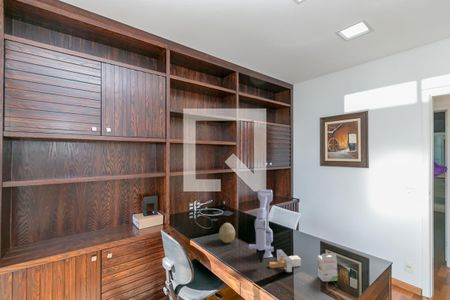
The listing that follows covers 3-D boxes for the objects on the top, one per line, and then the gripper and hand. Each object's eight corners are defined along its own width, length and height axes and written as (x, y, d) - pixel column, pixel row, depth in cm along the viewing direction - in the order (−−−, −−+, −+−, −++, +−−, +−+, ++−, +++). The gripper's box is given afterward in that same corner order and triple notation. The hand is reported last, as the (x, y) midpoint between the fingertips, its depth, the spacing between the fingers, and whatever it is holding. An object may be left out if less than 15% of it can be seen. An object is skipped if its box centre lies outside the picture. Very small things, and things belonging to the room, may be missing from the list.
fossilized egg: (225, 247, 156) (224, 226, 156) (216, 241, 167) (216, 222, 167) (238, 242, 163) (238, 223, 163) (229, 237, 174) (229, 219, 174)
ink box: (332, 275, 117) (332, 249, 118) (337, 281, 112) (337, 253, 113) (317, 276, 117) (317, 249, 117) (322, 281, 112) (321, 253, 112)
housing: (277, 260, 136) (276, 249, 136) (281, 259, 136) (281, 249, 136) (286, 272, 121) (286, 260, 122) (291, 271, 122) (291, 260, 122)
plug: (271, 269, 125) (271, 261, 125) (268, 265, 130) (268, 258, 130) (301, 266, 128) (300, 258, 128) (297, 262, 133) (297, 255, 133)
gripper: (247, 240, 125) (248, 263, 125) (272, 243, 121) (273, 266, 121) (249, 235, 132) (250, 257, 132) (273, 238, 128) (273, 260, 127)
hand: (261, 261), depth 127 cm, fingers closed
